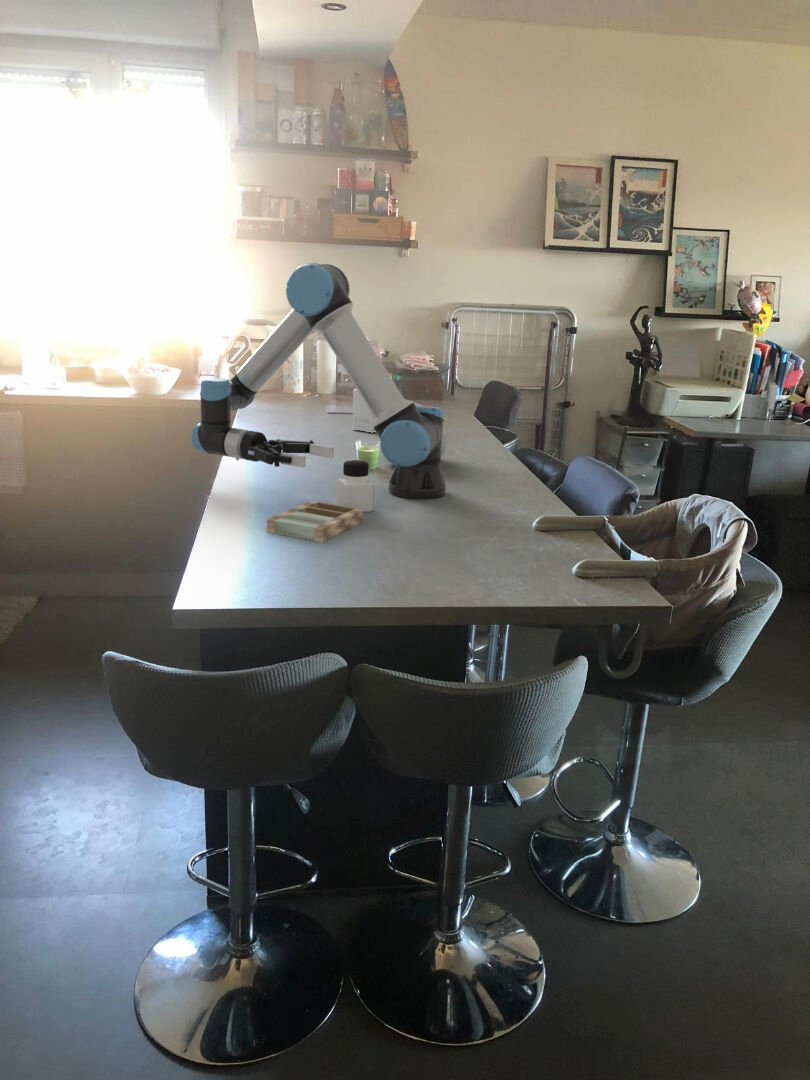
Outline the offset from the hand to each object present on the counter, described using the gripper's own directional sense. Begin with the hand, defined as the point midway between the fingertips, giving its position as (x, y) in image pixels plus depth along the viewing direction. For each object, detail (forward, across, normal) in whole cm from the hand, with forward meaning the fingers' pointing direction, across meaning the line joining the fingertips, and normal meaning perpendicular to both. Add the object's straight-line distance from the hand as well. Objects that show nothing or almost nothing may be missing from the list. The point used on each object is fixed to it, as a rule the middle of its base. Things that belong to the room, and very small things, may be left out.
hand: (319, 457), depth 213 cm
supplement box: (-36, -97, -12) cm, 104 cm away
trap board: (+10, +18, -12) cm, 24 cm away
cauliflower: (-1, -57, -12) cm, 58 cm away
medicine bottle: (+10, 0, -12) cm, 16 cm away
